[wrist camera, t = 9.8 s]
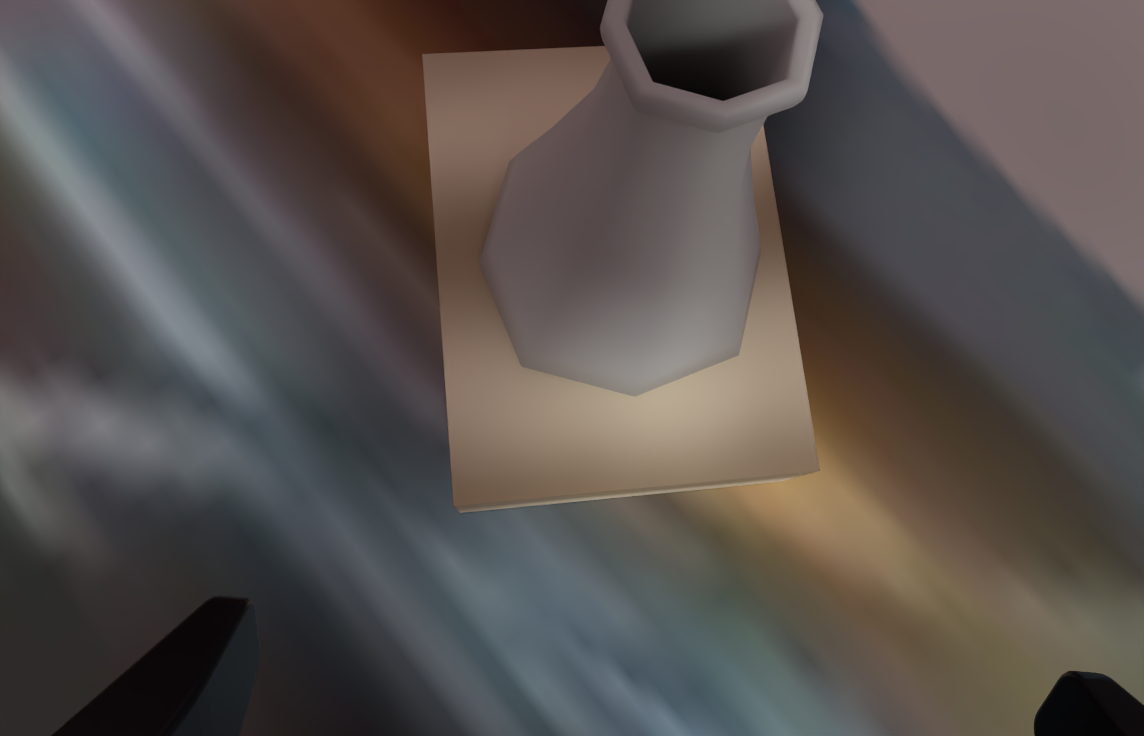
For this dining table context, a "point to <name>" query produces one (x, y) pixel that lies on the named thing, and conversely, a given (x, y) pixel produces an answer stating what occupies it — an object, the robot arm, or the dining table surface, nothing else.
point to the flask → (648, 195)
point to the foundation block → (566, 407)
